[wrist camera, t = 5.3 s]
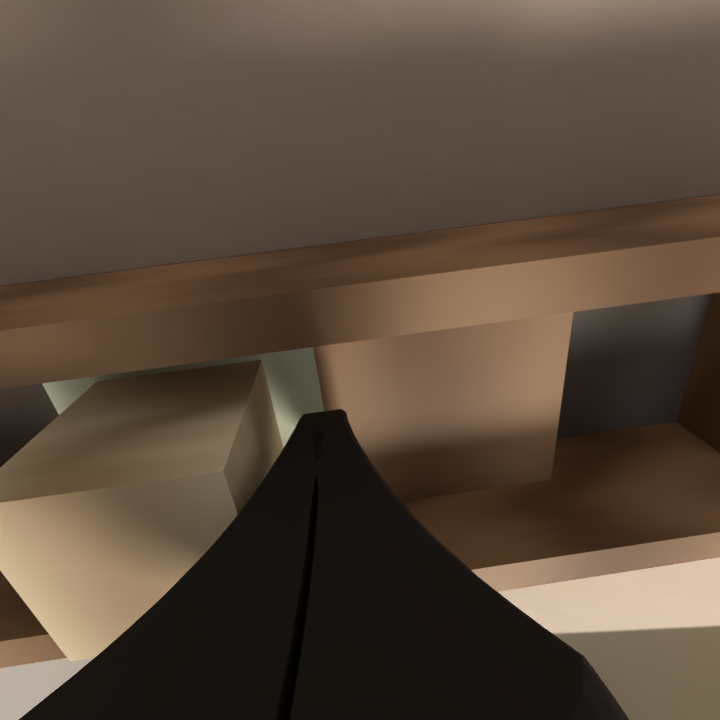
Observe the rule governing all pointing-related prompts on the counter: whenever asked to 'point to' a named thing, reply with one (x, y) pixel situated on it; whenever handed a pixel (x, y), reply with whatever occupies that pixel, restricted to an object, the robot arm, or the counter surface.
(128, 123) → the counter surface
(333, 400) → the channel
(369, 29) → the counter surface
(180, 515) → the birch block
